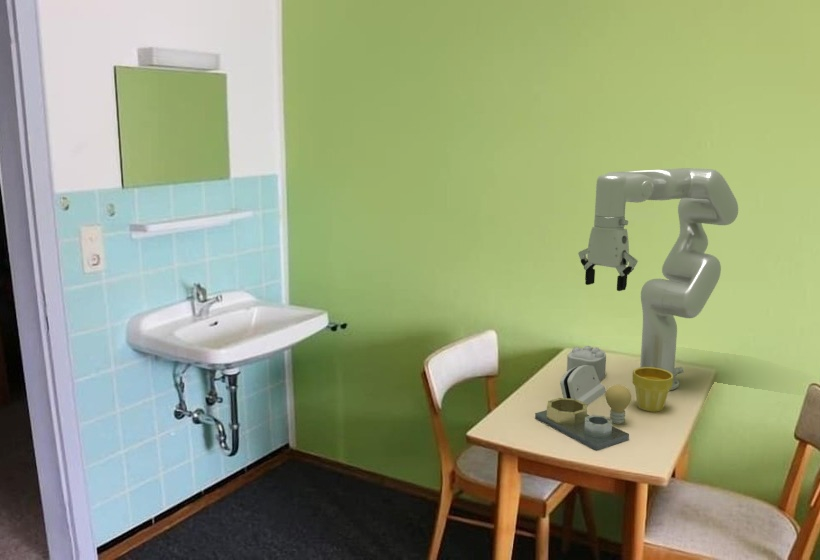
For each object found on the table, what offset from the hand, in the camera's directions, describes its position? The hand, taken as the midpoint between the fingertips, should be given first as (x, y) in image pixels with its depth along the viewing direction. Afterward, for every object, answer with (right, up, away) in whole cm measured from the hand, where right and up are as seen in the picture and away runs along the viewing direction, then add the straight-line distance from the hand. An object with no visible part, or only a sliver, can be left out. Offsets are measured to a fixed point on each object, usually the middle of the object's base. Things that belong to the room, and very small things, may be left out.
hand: (605, 287), depth 185 cm
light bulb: (+2, -35, -3) cm, 35 cm away
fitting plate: (-8, -36, -7) cm, 38 cm away
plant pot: (+14, -33, +6) cm, 36 cm away
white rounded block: (-3, -32, +13) cm, 35 cm away
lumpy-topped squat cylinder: (+3, -28, +30) cm, 41 cm away
